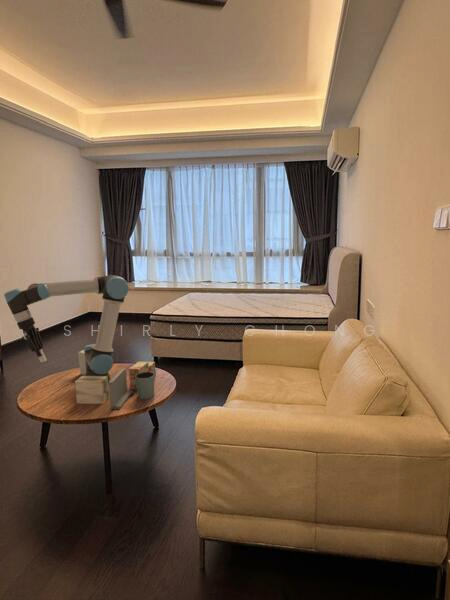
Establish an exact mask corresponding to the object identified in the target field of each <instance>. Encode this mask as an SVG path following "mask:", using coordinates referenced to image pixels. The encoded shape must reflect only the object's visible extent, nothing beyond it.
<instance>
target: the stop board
mask: <svg viewBox="0 0 450 600" xmlns="http://www.w3.org/2000/svg"><path fill="white" fill-rule="evenodd" d="M127 383H128V380H127V368H126V367H125V368H121V369H120V370H119V371H118V372H117V373H116V374H115V375H114V376H113V377H111V380H110V381H109V383H108V389H109V406H110V407H109V409H110V410H121V409H122V408H123V407H124V405H125V404H126V402H127V401H128V400H129V399H130V398H131V396H132V395H133V393H134V391H133V390H134V389H130V390H129V389H128V384H127Z"/></svg>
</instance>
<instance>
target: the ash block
mask: <svg viewBox="0 0 450 600" xmlns="http://www.w3.org/2000/svg"><path fill="white" fill-rule="evenodd" d="M74 384H75V395H76V396H75V397H76V404H86V405H88V404H93V405H94V404H95V405H96V404H97V405H103V404H105V403H106V402H107V400H108V399H110V396H109V383H108V376H85V375H81V376H79V378H77V379H76V380H75V381H74Z"/></svg>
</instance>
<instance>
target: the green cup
mask: <svg viewBox="0 0 450 600" xmlns="http://www.w3.org/2000/svg"><path fill="white" fill-rule="evenodd" d="M155 377H156V376H155V374H154V373H153V372H141V373H138V374H136V375H135V380H136V385H137V389H136V390H137V396H138V398H139V399H140V400H149V399H152V398H154V397H155Z"/></svg>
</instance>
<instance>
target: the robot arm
mask: <svg viewBox="0 0 450 600" xmlns="http://www.w3.org/2000/svg"><path fill="white" fill-rule="evenodd" d="M27 287H28V288H27V289H25V290H21V289H20V288H14V289H12V290H9V291H6V292H5V293H4V294H3V295H4V298H5V301H6V304H7V306H8V308H9V310H10V312H11V314H12V316H13V318H14V321H16V322H17V323H16V325H17V327H18V328H19V330H22V332H23V336H21V338H22V340H23V341H24V342H25V343H26V345H27V346H28V347H29V349H30V350H31V352H32V353H35V354H36V356H37V357H38V360H39V361H40V362H39V363H43V362H47V358H46V355H45V353H44V350H43V348H44V344H43V340H42V337H41V334H40V330H39V327H36V326H35V324H36V321H35V319H34V318H33V317H32V313H31V311H30V309H29V307H28V306H30V305H32V304H35V303H37V302H40V301H43V300H46V299H48V298H52V297H62V296H72V295H81V294H82V295H83V294H92V293H94V294H96V295H100V294H101V295H102V296H101V297H102V300H103V307H102V311H101V316H100V321H99V326H98V330H97V336H96V340H95V341H96V342H95V343H92V344H87V345H85V346H84V348H83V350H84V352H85V364H86V373H85V375H84V376H108V384H109V381H110V380H111V379H112V377H111V375H110V373H109V372H110V371H111V370H112V368H113V366H114V360H113V355H114V349H113V341H114V336H115V331H116V327H117V322H118V318H119V312H120V308H121V305H122V304H124V303H125V298H126V296H127V295H128V293H129V291H130V290H129V288H130V287H129V283H128V282H127V280H125V278H123V277H122V276H118V275H115V274H109V275H103V276H96V277H94V278H92V279H91V278H90V279H81V280H68V281H57V282H56V281H55V282H46V283H31V284H30V285H29V286H27Z"/></svg>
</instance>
